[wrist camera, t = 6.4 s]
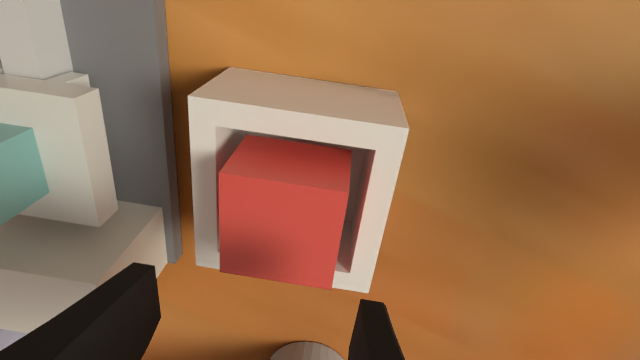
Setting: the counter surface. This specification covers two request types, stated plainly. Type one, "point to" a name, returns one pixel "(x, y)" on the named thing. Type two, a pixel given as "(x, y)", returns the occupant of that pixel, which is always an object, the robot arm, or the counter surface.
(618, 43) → the counter surface
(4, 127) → the carriage
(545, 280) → the counter surface
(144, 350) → the robot arm
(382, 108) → the box
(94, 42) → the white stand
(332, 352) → the coffee cup
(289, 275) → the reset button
